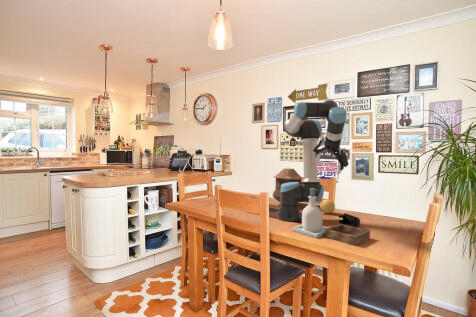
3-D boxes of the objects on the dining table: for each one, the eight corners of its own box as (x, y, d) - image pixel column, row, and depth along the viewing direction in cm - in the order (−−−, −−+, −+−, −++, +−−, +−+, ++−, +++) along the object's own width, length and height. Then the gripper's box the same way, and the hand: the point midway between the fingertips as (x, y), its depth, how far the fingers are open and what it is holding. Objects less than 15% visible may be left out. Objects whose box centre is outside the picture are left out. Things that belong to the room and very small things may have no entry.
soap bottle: (323, 233, 132) (324, 189, 131) (305, 232, 132) (305, 189, 131) (318, 227, 141) (318, 187, 141) (301, 227, 142) (301, 187, 141)
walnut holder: (324, 237, 128) (325, 229, 128) (340, 231, 138) (340, 223, 138) (355, 245, 116) (355, 237, 116) (369, 238, 126) (369, 230, 126)
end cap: (360, 228, 143) (360, 216, 143) (349, 229, 141) (350, 217, 141) (348, 223, 152) (348, 212, 152) (338, 224, 150) (338, 213, 150)
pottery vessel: (276, 209, 191) (276, 169, 190) (269, 202, 216) (269, 167, 215) (309, 208, 193) (310, 169, 192) (298, 202, 218) (299, 167, 218)
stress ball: (336, 215, 175) (335, 204, 183) (334, 206, 170) (333, 195, 177) (321, 216, 179) (320, 205, 186) (319, 208, 173) (318, 196, 180)
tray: (292, 230, 138) (292, 227, 138) (308, 225, 147) (308, 222, 147) (316, 238, 126) (316, 234, 126) (332, 232, 136) (332, 228, 136)
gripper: (308, 131, 133) (305, 161, 147) (352, 150, 118) (344, 182, 132) (316, 125, 137) (313, 154, 150) (361, 143, 122) (352, 174, 135)
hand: (328, 167), depth 141 cm, fingers open, 13 cm apart
